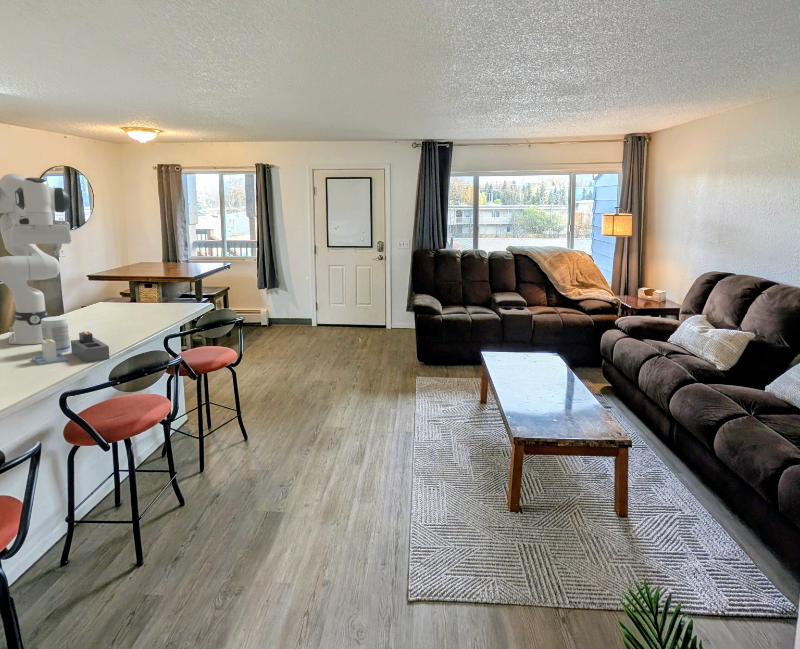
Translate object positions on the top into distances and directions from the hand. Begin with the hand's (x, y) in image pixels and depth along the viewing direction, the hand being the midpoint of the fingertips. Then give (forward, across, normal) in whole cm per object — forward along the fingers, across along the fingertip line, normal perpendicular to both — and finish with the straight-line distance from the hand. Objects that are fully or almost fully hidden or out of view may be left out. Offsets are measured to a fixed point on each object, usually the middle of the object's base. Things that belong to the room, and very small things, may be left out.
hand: (43, 255), depth 213 cm
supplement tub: (+42, -4, -8) cm, 43 cm away
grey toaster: (+42, -12, +9) cm, 45 cm away
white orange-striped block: (+42, +2, +6) cm, 42 cm away
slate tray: (+42, +2, +6) cm, 43 cm away
